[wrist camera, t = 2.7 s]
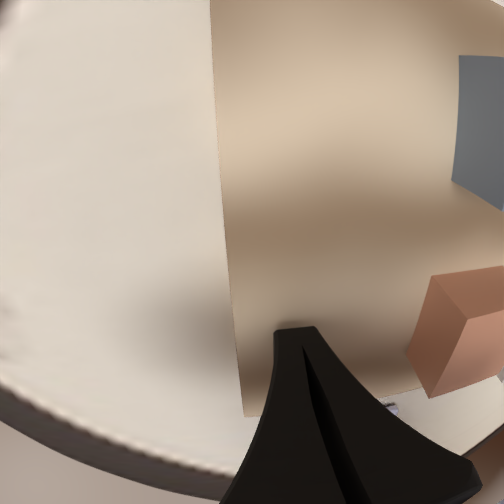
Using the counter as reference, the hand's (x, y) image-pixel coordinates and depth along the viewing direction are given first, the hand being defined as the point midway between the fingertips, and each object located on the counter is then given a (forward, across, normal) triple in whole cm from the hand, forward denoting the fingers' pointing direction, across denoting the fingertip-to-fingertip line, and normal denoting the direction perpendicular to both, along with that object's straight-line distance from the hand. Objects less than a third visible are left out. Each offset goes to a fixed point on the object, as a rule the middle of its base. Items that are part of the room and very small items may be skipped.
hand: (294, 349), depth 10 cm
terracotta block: (+1, -7, 0) cm, 7 cm away
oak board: (+3, -5, -4) cm, 7 cm away
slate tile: (+1, -7, -8) cm, 10 cm away
